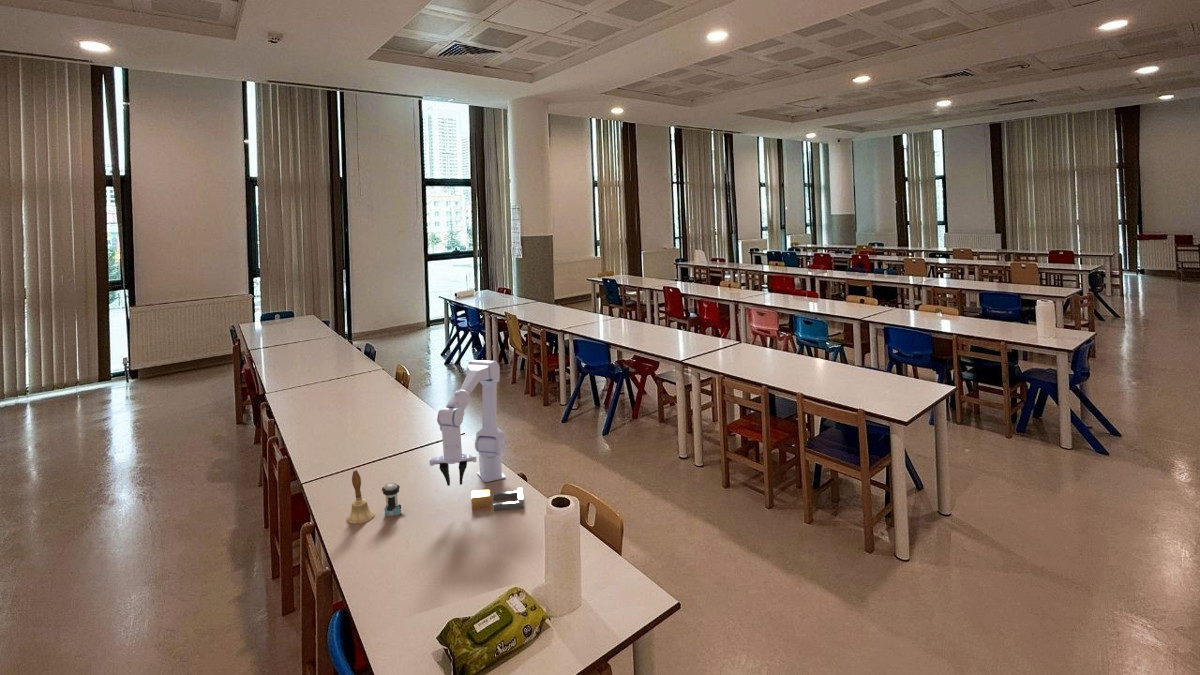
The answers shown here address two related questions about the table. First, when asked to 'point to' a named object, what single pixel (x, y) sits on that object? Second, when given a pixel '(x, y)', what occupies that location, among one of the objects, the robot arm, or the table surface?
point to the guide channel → (509, 495)
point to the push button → (392, 499)
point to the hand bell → (359, 504)
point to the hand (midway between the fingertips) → (454, 483)
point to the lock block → (481, 499)
